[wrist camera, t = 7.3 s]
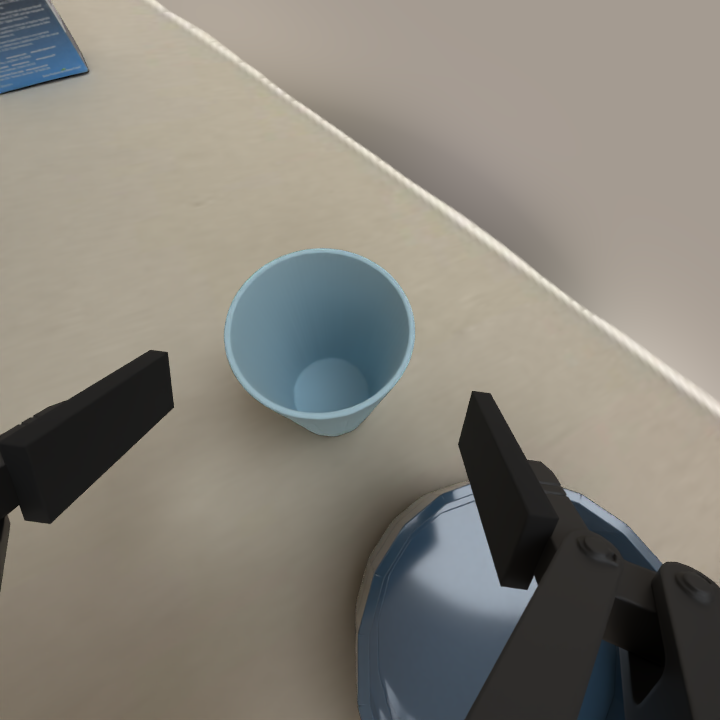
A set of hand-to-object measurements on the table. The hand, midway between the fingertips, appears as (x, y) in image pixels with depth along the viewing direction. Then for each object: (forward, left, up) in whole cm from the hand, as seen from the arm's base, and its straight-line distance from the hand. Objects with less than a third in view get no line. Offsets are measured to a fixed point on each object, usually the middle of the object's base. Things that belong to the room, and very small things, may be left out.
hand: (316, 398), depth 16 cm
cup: (-2, +1, -8) cm, 9 cm away
